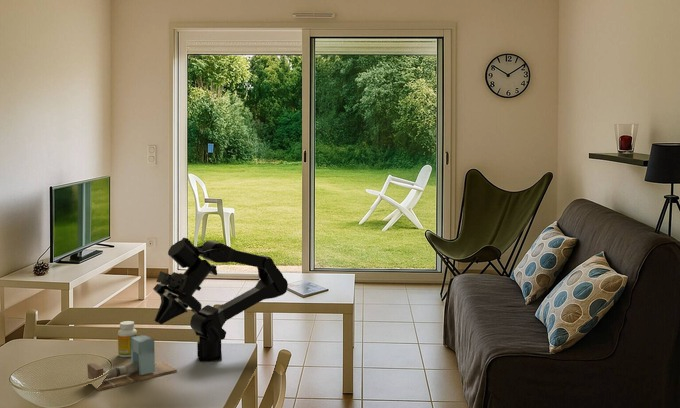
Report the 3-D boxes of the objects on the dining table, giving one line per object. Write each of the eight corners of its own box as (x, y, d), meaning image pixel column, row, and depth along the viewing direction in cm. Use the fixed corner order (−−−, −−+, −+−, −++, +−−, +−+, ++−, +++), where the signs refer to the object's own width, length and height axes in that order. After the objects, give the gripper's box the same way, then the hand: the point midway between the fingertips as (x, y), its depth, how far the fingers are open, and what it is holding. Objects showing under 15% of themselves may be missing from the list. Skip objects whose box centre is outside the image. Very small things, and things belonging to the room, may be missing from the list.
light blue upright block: (145, 366, 189) (144, 334, 188) (154, 371, 185) (154, 339, 184) (131, 369, 187) (130, 337, 186) (141, 375, 182) (140, 342, 181)
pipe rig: (163, 363, 194) (163, 346, 194) (176, 371, 188) (176, 353, 188) (86, 382, 180) (85, 362, 179) (98, 390, 174) (97, 371, 173)
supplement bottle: (131, 358, 199) (130, 325, 198) (114, 356, 200) (114, 324, 199) (140, 352, 204) (139, 320, 203) (124, 351, 205) (123, 319, 204)
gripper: (159, 255, 196) (123, 299, 190) (191, 265, 182) (153, 312, 176) (184, 278, 202) (150, 321, 196) (216, 290, 188) (181, 336, 182)
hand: (157, 322), depth 188 cm, fingers closed
